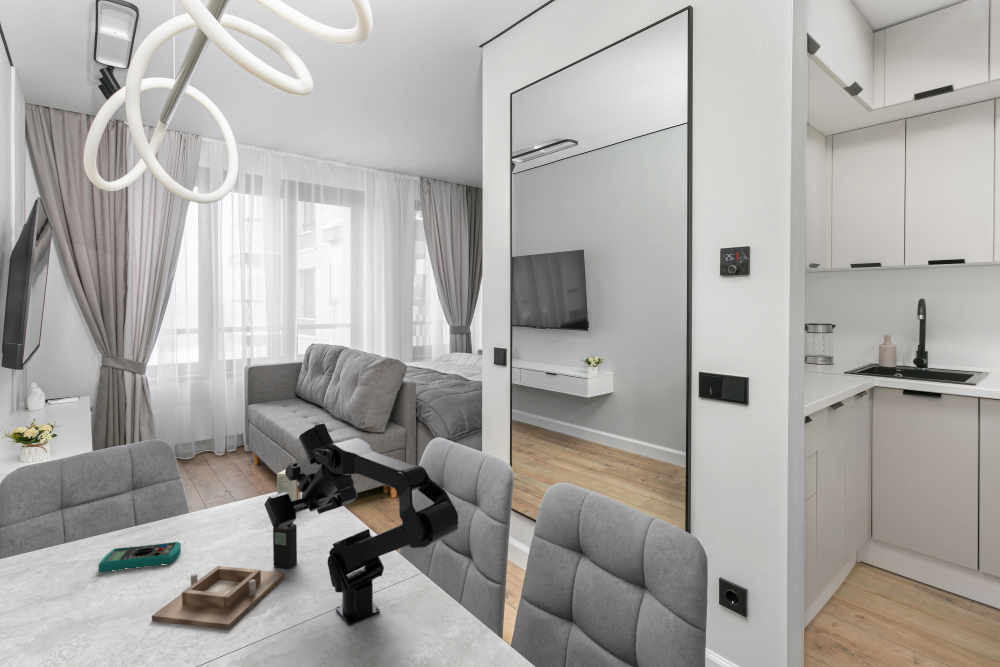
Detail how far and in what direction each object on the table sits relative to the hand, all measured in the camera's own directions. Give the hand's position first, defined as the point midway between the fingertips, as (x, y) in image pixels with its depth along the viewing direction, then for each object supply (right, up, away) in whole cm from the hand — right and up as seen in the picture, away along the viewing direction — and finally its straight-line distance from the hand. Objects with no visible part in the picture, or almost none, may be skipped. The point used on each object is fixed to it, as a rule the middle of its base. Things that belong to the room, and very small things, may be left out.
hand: (299, 518), depth 110 cm
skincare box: (-19, -11, +39) cm, 44 cm away
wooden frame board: (-12, -13, -8) cm, 20 cm away
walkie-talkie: (-5, -13, +5) cm, 14 cm away
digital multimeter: (-39, -13, +6) cm, 41 cm away
